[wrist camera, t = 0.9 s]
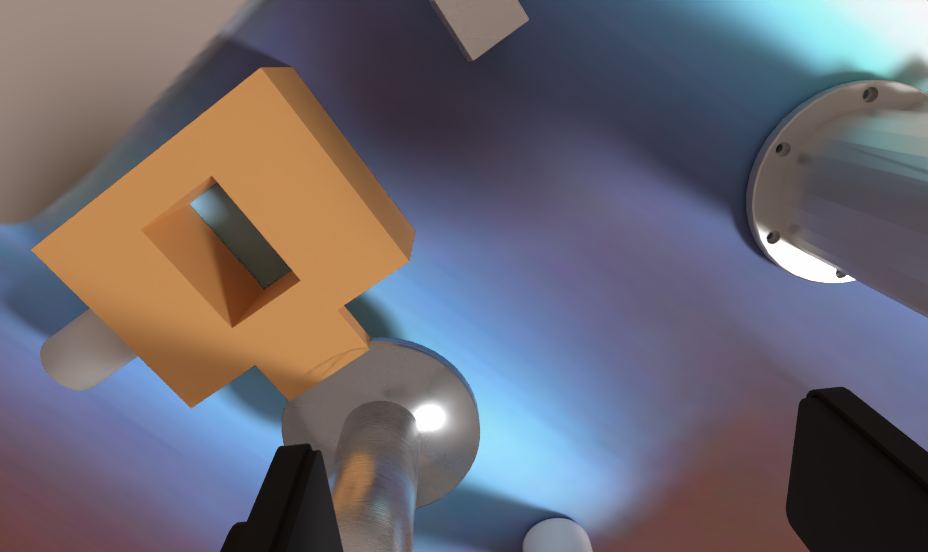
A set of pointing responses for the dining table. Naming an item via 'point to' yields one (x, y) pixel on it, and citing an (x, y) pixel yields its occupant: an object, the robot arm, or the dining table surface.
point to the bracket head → (228, 252)
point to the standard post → (387, 438)
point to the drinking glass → (557, 537)
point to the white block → (479, 22)
